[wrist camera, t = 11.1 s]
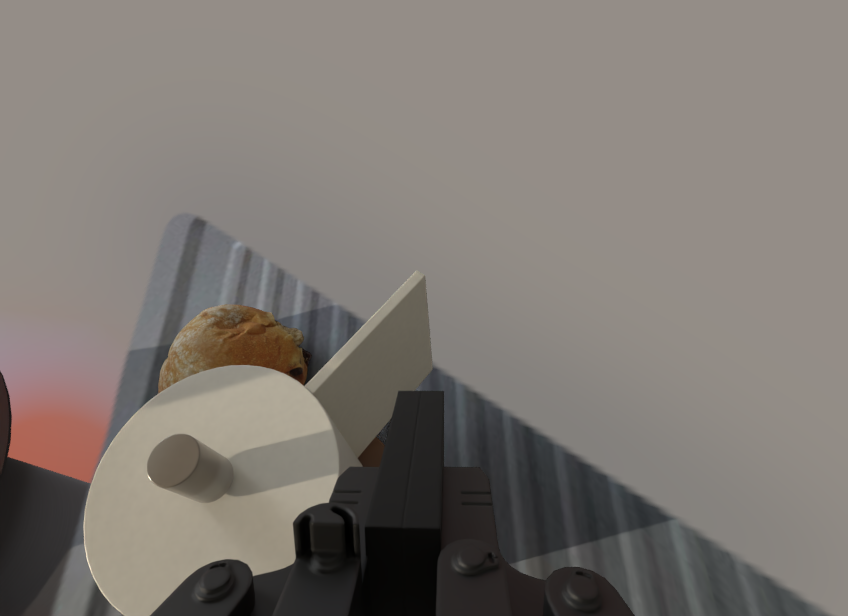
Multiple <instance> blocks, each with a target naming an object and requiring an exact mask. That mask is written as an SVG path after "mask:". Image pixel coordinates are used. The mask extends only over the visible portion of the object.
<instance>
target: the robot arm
mask: <svg viewBox="0 0 848 616" xmlns="http://www.w3.org/2000/svg"><path fill="white" fill-rule="evenodd" d="M293 532H294V543H295V554H296V559H295V561H294V563H293V564H291V565H289V566H287V567H285V568H282V569H279V570H276V571H272V572H268V573H264V574H259V575H255V576H253V573H252V571H251V569H250V567H249V566H248V564H246V563H244V562H242V561H240V560H233V559H224V560H220V561H215V562H211V563H209V564H207V565H205V566H203V567H201V568H199V569H197V570H196V571H195V572H194V573H192V574H191V575H190V576H189V577H187V578H186V579H185V580H184V581H183V582H182V583H181V584H180V585H179V586H178V587H177V588H176V589H175V590H174V591H173V592H172V593H171V595H170V596H169V597H168V598H167V599H166V600H165V601H164V602H163V603H162V604H161V605H160V606H159V607H158V608H157V609H156V610H155V611H154V612H153V613H152V614H151V615H150V616H635V615H634V614H633V613H632V611H631V610H630V608H629V607H628V606H627V604H626V603H625V601H624V600H623V599H622V597H621V596H620V594H619V593H618V592H617V590H616V589H615V588H614V587H613V586H612V585H611V584H610V583H609V582H608V581H607V580H606V579H605V578H604V577H602V576H600V575H599V574H597V573H595V572H593V571H591V570H587V569H584V568H580V567H564V568H561V569H558V570H556V571H554V572H553V573H552V574H551V575H550V576H549V577H548V578H547V580H546V581H544V580H541V579H537V578H534V577H531V576H528V575H526V574H523V573H521V572H519V571H517V570H516V569H514V568H513V567H511V566H510V565H509V564H508V563H507V562H506V561H505V560H504V558H503V557H502V555H501V553H500V550H499V547H498V540H497V533H496V526H495V519H494V511H493V506H492V497H491V490H490V483H489V478H488V477H487V476H486V475H485V473H484V472H483V471H482V470H481V469H480V467H444V391H398V394H397V398H396V402H395V406H394V410H393V414H392V418H391V422H390V426H389V430H388V435H387V439H386V443H385V447H384V451H383V455H382V459H381V463H380V467H349V468H348V469H347V470H345V471H344V472H343V473H342V474H341V475H340V476H339V477H338V479H337V481H336V484H335V486H334V489H333V493H332V494H331V497H330V499H329V503H321V504H318V505H315V506H312V507H309V508H308V509H306V510H305V511H303V512H302V513H300V514H299V515H298V516H297V518H296V519H295V520H294V522H293Z"/></svg>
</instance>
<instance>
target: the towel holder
mask: <svg viewBox="0 0 848 616" xmlns="http://www.w3.org/2000/svg"><path fill="white" fill-rule="evenodd" d="M384 447H385V445H384V444H383V443H382V442H381V441H380V440H379V439H378V438H377V437H375V438H374V439H373V440H372V442H371V443H370V444H369V445H368V446H367V447H366V449H365V450H364V451H363V452H362V453H361V455H360V456H359V457H358V460H359V461H360V463H361V464H362V466H363V467H380V463H381V459H382V455H383V451H384ZM147 474H148V477H149V479H150V481H151V482H152V483H153V484H155V485H156V486H158V487H161V488H163V489H166V490H169V491H171V492H174V493H176V494H179V495H181V496H184V497H187V498H189V499H192V500H194V501H197V502H200V503H210V502H213V501H216V500H218V499H219V498H221V497H222V496H223V495H224V494H225V493H226V492H227V491H228V489H229V488H230V486H231V484H232V481H233V477H234V470H233V466H232V464H231V462H230V461H229V460H228V459H227V458H225V457H224V456H222V455H221V454H219V453H217V452H216V451H214V450H213V449H211V448H210V447H208V446H206V445H205V444H203V443H202V442H200V441H198V440H197V439H195V438H194V437H192V436H190V435H187V434H175V435H171V436H169V437H167V438H165V439H163V440H162V441H161V442H159V443H158V444H157V445H156V446H155V447H154V449H153V450H152V452H151V453H150V455H149V458H148V461H147Z"/></svg>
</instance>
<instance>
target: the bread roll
mask: <svg viewBox="0 0 848 616" xmlns="http://www.w3.org/2000/svg"><path fill="white" fill-rule="evenodd" d="M303 340H304V337H303V334H302V331H299V330H298V329H296V328H287V327H285V326H282V325H281V323H279V322H277V321H275V319H274V316H273V315H272V313H269V312H264V311H261V310H258V309H255V308H252V307H247V306H241V305H227V304H226V305H221V306H216V307H211V308H208V309H206V310H204V311H202V312H201V313H200V314H199V315H197V316H196V317H195V318H194V319H192V320H191V321H190V322H189V323H188V324H187V325H186V326H185V327H184V328H183V329H182V330H181V331H180V333H179V334H178V335H177V336H176V338H175V340H174V342H173V344H172V345H171V347H170V349H169V353H168V358H167V359H166V360H165V361H164V364H163V366H162V368H161V371H160V377H159V384H158V387H159V390H158V393H160V392H162V391H163V390H165V389H167V388H168V387H170V386H171V385H173V384H175V383H177V382H179V381H181V380H183V379H185V378H187V377H189V376H192V375H194V374H197V373H200V372H202V371H206V370H210V369H214V368H218V367H224V366H231V365H250V366H260V367H265V368H269V369H273V370H276V371H279V372H281V373H284V374H286V375H288V376H290V377H292V378H293V379H295V380H297V381H298V382H300V383H301V384H302V385H304V384H305V381H306V378H307V366H308V362H309V361H310V359H311V354H310V353H309V352H307V351H305V350H304V349H302V348H300V347H299V345H300V344H301V343H302V342H303Z"/></svg>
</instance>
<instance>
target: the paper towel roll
mask: <svg viewBox="0 0 848 616" xmlns="http://www.w3.org/2000/svg"><path fill="white" fill-rule="evenodd" d="M432 369H433V366H432V355H431V342H430V329H429V317H428V305H427V293H426V280H425V276H424V275H423V274H421V273H420V272H418V271H416V272H415V273H414V274H413V275H412V276H411V277H410V278H409V279H408V280H407V281H406V282H405V283H404V284H403V285H402V286H401V287H400V288H399V289H398V290H397V291H396V292H395V293H394V294H393V295H392V296H391V297H390V299H388V301H387V302H386V303H385V304H384V305H383V306H382V307H381V308H380V309H379V310H378V311H377V312H376V313H375V314H374V315H373V316H372V317H371V318H370V319H369V320H368V321H367V322H366V323H365V324H364V325H363V326H362V327H361V328H360V329H359V330H358V331H357V333H356V334H355V335H354V336H353V337H352V338H351V339H350V340H349V341H348V342H347V343H346V344H345V345H344V346H343V347H342V348H341V349H340V350H339V351H338V352H337V353H336V354H335V355H334V356H333V357H332V358H331V359H330V360H329V361H328V362H327V364H326V365H325V366H324V367H323V368H322V369H321V370H320V371H319V372H318V373H317V374H316V375H315V376H314V377H313V378H312V379H311V380H310V381H309V382H308V383H307V384H306V385H305V386H304V385H302V384H301V383H300V382H298V381H297V380H295V379H293V378H292V377H290V376H288V375H286V374H284V373H281V372H279V371H276V370H273V369H269V368H265V367H260V366H250V365H231V366H224V367H218V368H214V369H210V370H206V371H202V372H200V373H197V374H194V375H192V376H189V377H187V378H185V379H183V380H181V381H179V382H177V383H175V384H173V385H171V386H170V387H168V388H167V389H165V390H163V391H162V392H160V393H159V394H157V395H156V396H155V397H154V398H152V399H151V400H150V401H148V402H147V403H146V404H145V405H144V406H143V407H142V408H141V409H139V410H138V411H137V412H136V413H135V414H134V415H133V416H132V417H131V418H130V420H129V421H128V422H127V423H126V424H125V425H124V426H123V428H122V429H121V430H120V431H119V433H118V434H117V436H116V437H115V438H114V440H113V441H112V442H111V444H110V446H109V448H108V449H107V451H106V453H105V454H104V456H103V458H102V460H101V462H100V464H99V466H98V468H97V471H96V473H95V475H94V478H93V481H92V484H91V487H90V490H89V494H88V498H87V503H86V508H85V516H84V545H85V551H86V557H87V561H88V564H89V567H90V570H91V573H92V576H93V578H94V580H95V582H96V583H97V585H98V587H99V589H100V591H101V592H102V594H103V595H104V596H105V597H106V598H107V600H108V601H109V602H110V603H111V605H112V606H114V607H115V608H116V609H117V610H118V611H119V612H121V613H122V614H123V615H124V616H150V615H151V614H152V613H153V612H154V611H155V610H156V609H157V608H158V607H159V606H160V605H161V604H162V603H163V602H164V601H165V600H166V599H167V598H168V597H169V596H170V595H171V593H172V592H173V591H174V590H175V589H176V588H177V587H178V586H179V585H180V584H181V583H182V582H183V581H184V580H185V579H186V578H187V577H189V576H190V575H191V574H192V573H194V572H195V571H196V570H197V569H199V568H201V567H203V566H205V565H207V564H209V563H211V562H215V561H220V560H224V559H233V560H240V561H242V562H244V563H246V564H248V566H249V567H250V569H251V571H252V573H253V576H255V575H259V574H264V573H268V572H272V571H276V570H279V569H282V568H285V567H287V566H289V565H291V564H293V563H294V561H295V559H296V554H295V543H294V532H293V522H294V520H295V519H296V518H297V516H298V515H299V514H300V513H302V512H303V511H305V510H306V509H308V508H309V507H312V506H315V505H318V504H321V503H329V499H330V497H331V494H332V493H333V489H334V486H335V484H336V481H337V479H338V477H339V476H340V475H341V474H342V473H343V472H344V471H345V470H347V469H348V468H349V467H363V466H362V464H361V463H360V461H359V460H358V457H359V456H360V455H361V453H362V452H363V451H364V450H365V449H366V447H367V446H368V445H369V444H370V443H371V442H372V440H373V439H374V438H375V437H376V436H377V434H378V433H379V432H380V431H381V430H382V429H383V427H384V426H385V425H386V424H387V423H388V421H389V420H390V419H391V418H392V414H393V410H394V406H395V402H396V398H397V394H398V391H415V390H416V388H417V387H418V386H419V385H420V384H421V382H422V381H423V380H424V379H425V378H426V377H427V375H428V374H429V373H430V372H431V371H432ZM175 434H187V435H190V436H192V437H194V438H195V439H197V440H198V441H200V442H202V443H203V444H205V445H206V446H208V447H210V448H211V449H213V450H214V451H216V452H217V453H219V454H221V455H222V456H224V457H225V458H227V459H228V460H229V461H230V462H231V464H232V466H233V470H234V477H233V481H232V484H231V486H230V488H229V489H228V491H227V492H226V493H225V494H224V495H223V496H222V497H221V498H219V499H218V500H216V501H213V502H210V503H200V502H197V501H194V500H192V499H189V498H187V497H184V496H181V495H179V494H176V493H174V492H171V491H169V490H166V489H163V488H161V487H158V486H156V485H155V484H153V483H152V482H151V481H150V479H149V477H148V474H147V461H148V458H149V455H150V453H151V452H152V450H153V449H154V447H155V446H156V445H157V444H158V443H159V442H161V441H162V440H163V439H165V438H167V437H169V436H171V435H175Z"/></svg>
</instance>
